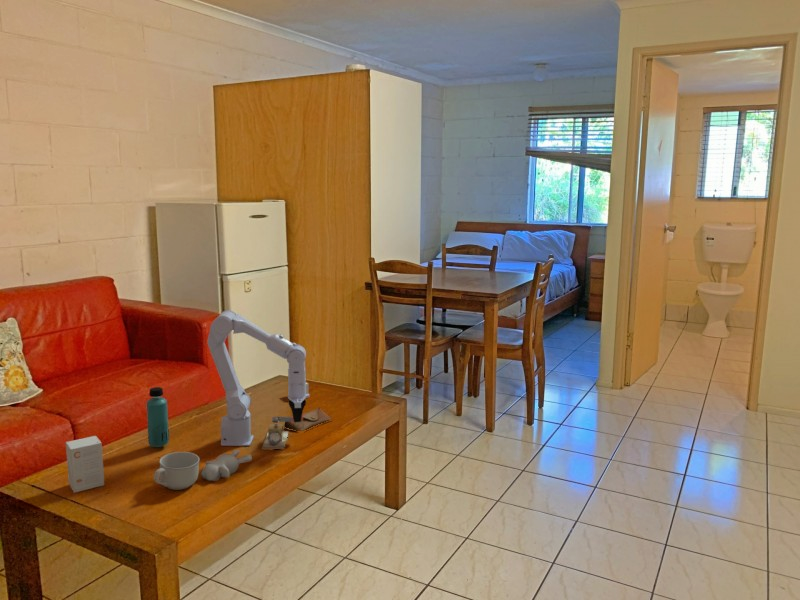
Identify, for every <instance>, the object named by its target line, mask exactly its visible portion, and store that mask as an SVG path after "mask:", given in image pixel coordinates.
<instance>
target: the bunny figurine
mask: <svg viewBox="0 0 800 600" xmlns="http://www.w3.org/2000/svg"><path fill="white" fill-rule="evenodd" d="M240 453H241V452H240V450H238V449H235V450H233V451H232V453H226V452H225V453H221V454H219V455H218V456H217V457H216V459H214V460H208V461H206V462H205V466H204V467H203V469H202V471H200V478H202V479H205V480H207V481H210V482H211V481H214V482H217V481H219V480H220V479H221V478H229V477H230V475H232V474H234V473H235V472H236V471H238V469H239V466H240V464H243V463H246V462H251V461H252V460H253V457H252V455H251V454H246V455H244V456H243V455H242V456H241V457H238V456H239V454H240Z"/></svg>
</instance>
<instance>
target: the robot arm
mask: <svg viewBox="0 0 800 600" xmlns="http://www.w3.org/2000/svg"><path fill="white" fill-rule="evenodd" d="M231 332H232V334H234V335H236V334H242V333H244V334H246V335H248V336H249V337H252V338H254V339H255V340H258V341H260V342H261V343H264V344H265V345H266V349H267V350H268V351H270V352H272V353H274V354H275V355H277V356H279V357H281V358H282V359H284V360H286V362H287V363H288V369H287V378H288V379H287V380H288V382H287V386H288V391H287V392H288V394H287V399H289V400H288V406H289V407H290V410H291V412H292V415H293V419H294V422H301V418H302V414H303V410H304V408H305V406H306V403H307V402H306V399H309V398H310V393H309V394H306V383H307V379H306V378H307V375H306V370H307V369H306V357H307V351H306V349H305V347H304V346H302V344H297V343H296V342H291V341H290V340H288V339H286V338H284V337H285V336H284V335H283V334H277V333H275V334H270V333H268V332H267V331H266V330H264V329H263V328H261V327H260V326H257V325H256V324H255V323H253V322H252V321H250V320H249V319H247V318H246V317H244V316H242V315H241V314H239V313H236V312H234V311H233V310H230V309H229V310H228V309H227V310H224V311H222V312H221V313H220V314H219V315H218V316H217V317H216V318H215V319H214V320H213V322H211V324H210V326H209V333H208V338H207V340H206V343H207V346H208V348H209V352H210V354H211V357H212V359H213V363H214V366H215V367H216V371H217V372H218V375H219V379H220V381H221V383H222V386H223V389H224V392H225V402H226V405H227V407H226V413H227V415H223V416H222V417H221V421H220V446H224V447H226V446H228V447H229V446H231V447H233V446H234V447H241V446H242V447H244V446H245V447H246V446H248V447H249V446H251V444H252V441H253V440H254V437H255V436H254V435H253V434H252V433H251V432H252V430H251V429H252V425H251V424H252V423H251V419H252V418H251V412H250V410H249V408H250V406H251V405H252V404H251V403H252V399H251V397H250V395H249V394H247V392H246V391H245V388H244V387H243V386H242V385H241V383H240V380H239V378H238V376H237V372H236V370H235V367H234V364H233V361H232V359H231V357H230V353H229V350H228V348H227V346H226V345H227V344H226V343H225V342H226V340H227V338H228V336H229V335H230V334H231ZM308 397H309V398H308Z"/></svg>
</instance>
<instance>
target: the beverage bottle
mask: <svg viewBox="0 0 800 600" xmlns="http://www.w3.org/2000/svg"><path fill="white" fill-rule="evenodd" d="M148 394H149V397H150V398H149V399H148V400H147V401H146V403H145V404H146V415H147V416H146V419H147V442H148V445H149V446H150V447H153V448H154V447H155V448H159V447H165V446H167V445H168V444H169V442H170V429H169V413H168V412H169V411H168V400H167V399H166V398H164V397H163V395H164V391H163V388H162V387H160V386H158V387H156V386H155V387H151V388H150V389H149V393H148Z"/></svg>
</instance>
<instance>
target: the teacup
mask: <svg viewBox="0 0 800 600" xmlns="http://www.w3.org/2000/svg"><path fill="white" fill-rule="evenodd" d="M199 465H200V457H199V456H198V455H197V454H196V453H193V452H189V451H175V452H170V453H167V454H165V455H163V456H162V457H160V459H159V468H158V469H157V470H155V472H154V474H153V480H154V481H155V483H156V484H158V485H159V484H160V485H162V486H163V487H166V488H168V489H169V490H170V489H171V490H174V491H178V490H179V491H180V490H181V491H182V490H185V489H187V488H189V487H191V486H192V485H194V483H196V481H197V480H198V477H199V472H200V471H199V469H200V467H199Z"/></svg>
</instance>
